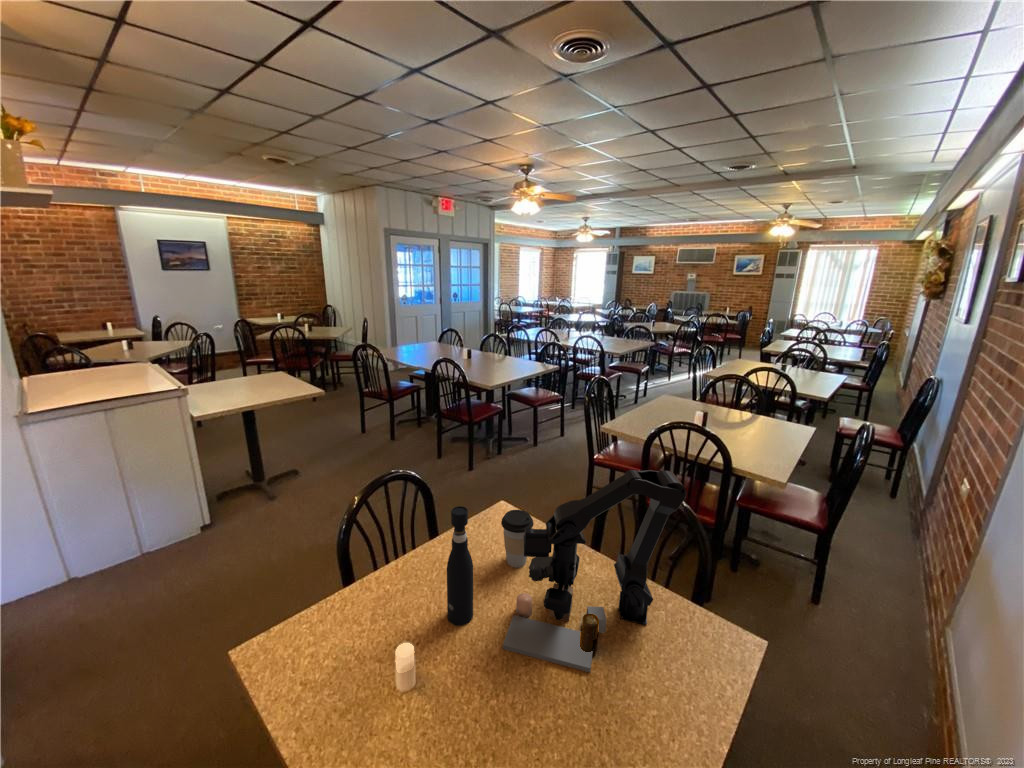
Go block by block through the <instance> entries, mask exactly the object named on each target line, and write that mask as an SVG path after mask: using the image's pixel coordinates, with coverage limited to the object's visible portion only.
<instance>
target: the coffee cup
mask: <svg viewBox="0 0 1024 768" xmlns="http://www.w3.org/2000/svg"><path fill="white" fill-rule="evenodd" d="M500 523H501V527H502V528H503V542H504V548H505V557H506V559H505V560H506V564H508V565H509V566H510V567H512V568H515V569H516V568H519V569H520V568H521V567H524V566H525V565H526V563H527V558H528V557H524V555H523V540H524V535H525V528H532V529H533V527H534V520H533V517H532V516H531V514H530V513H529V512H528V511H525V510H522V509H512V510H509V511H507V512H506V513H504V516H503V517H502V518H501V522H500Z"/></svg>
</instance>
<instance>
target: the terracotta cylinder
mask: <svg viewBox="0 0 1024 768" xmlns="http://www.w3.org/2000/svg"><path fill="white" fill-rule="evenodd" d="M515 609H516V610H515V613H516V616H520V617H524V618H528V619H529V617H531V616H532V613H533V597H532V596H531V594H529V593H527V592H523V593H522V592H521V593H519V594H518V595H517V596H516V608H515Z"/></svg>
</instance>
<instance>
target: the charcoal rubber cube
mask: <svg viewBox="0 0 1024 768" xmlns="http://www.w3.org/2000/svg"><path fill="white" fill-rule="evenodd" d="M587 614H594V615H596V616H597V617H598V619H599V633H598V634H606V628H607V616H606V612H605V609H604V606H591V605H589V606H586V615H587Z"/></svg>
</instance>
